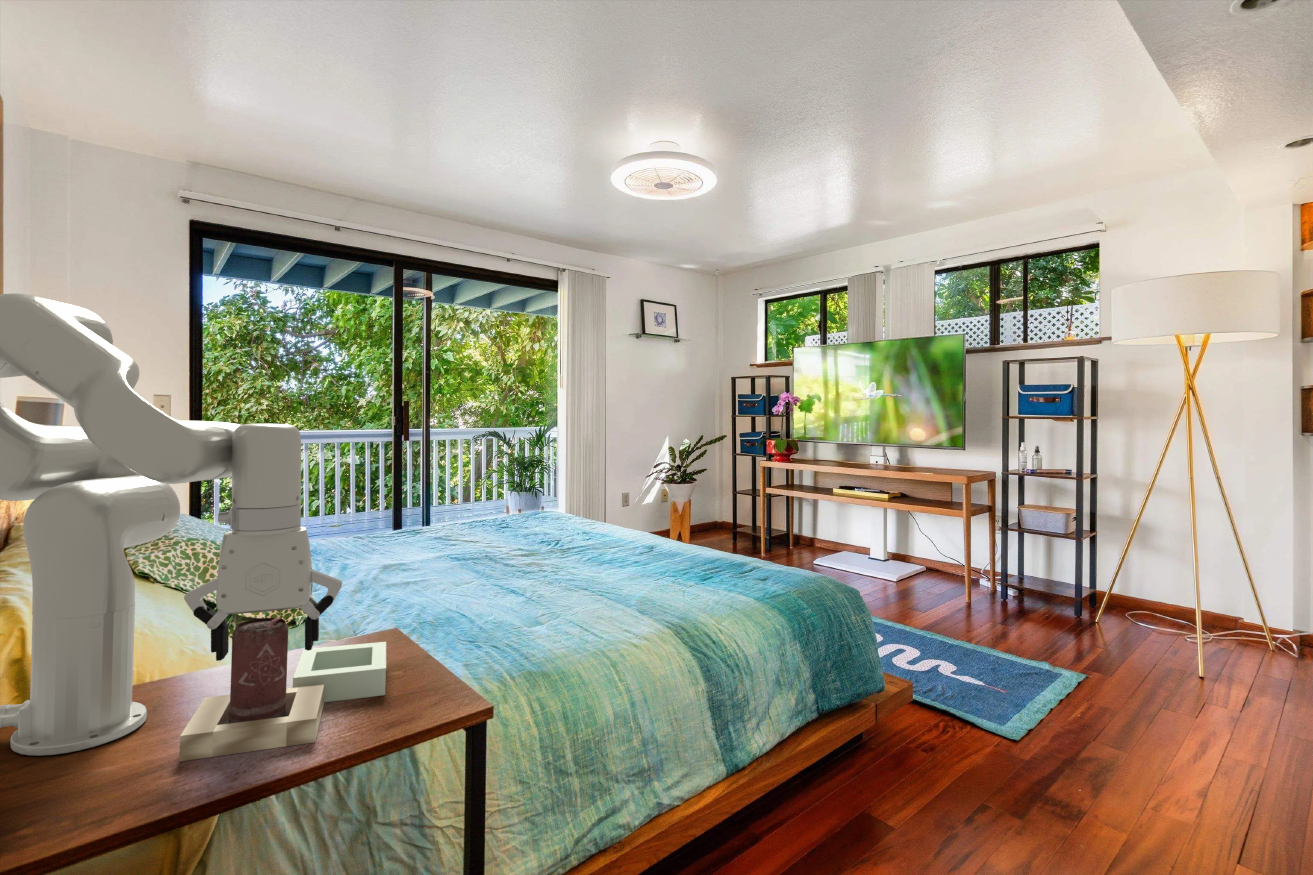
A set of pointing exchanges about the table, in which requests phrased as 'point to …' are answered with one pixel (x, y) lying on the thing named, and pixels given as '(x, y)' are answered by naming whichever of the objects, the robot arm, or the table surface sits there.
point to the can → (259, 670)
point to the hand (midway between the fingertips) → (266, 651)
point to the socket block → (251, 726)
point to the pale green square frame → (344, 670)
